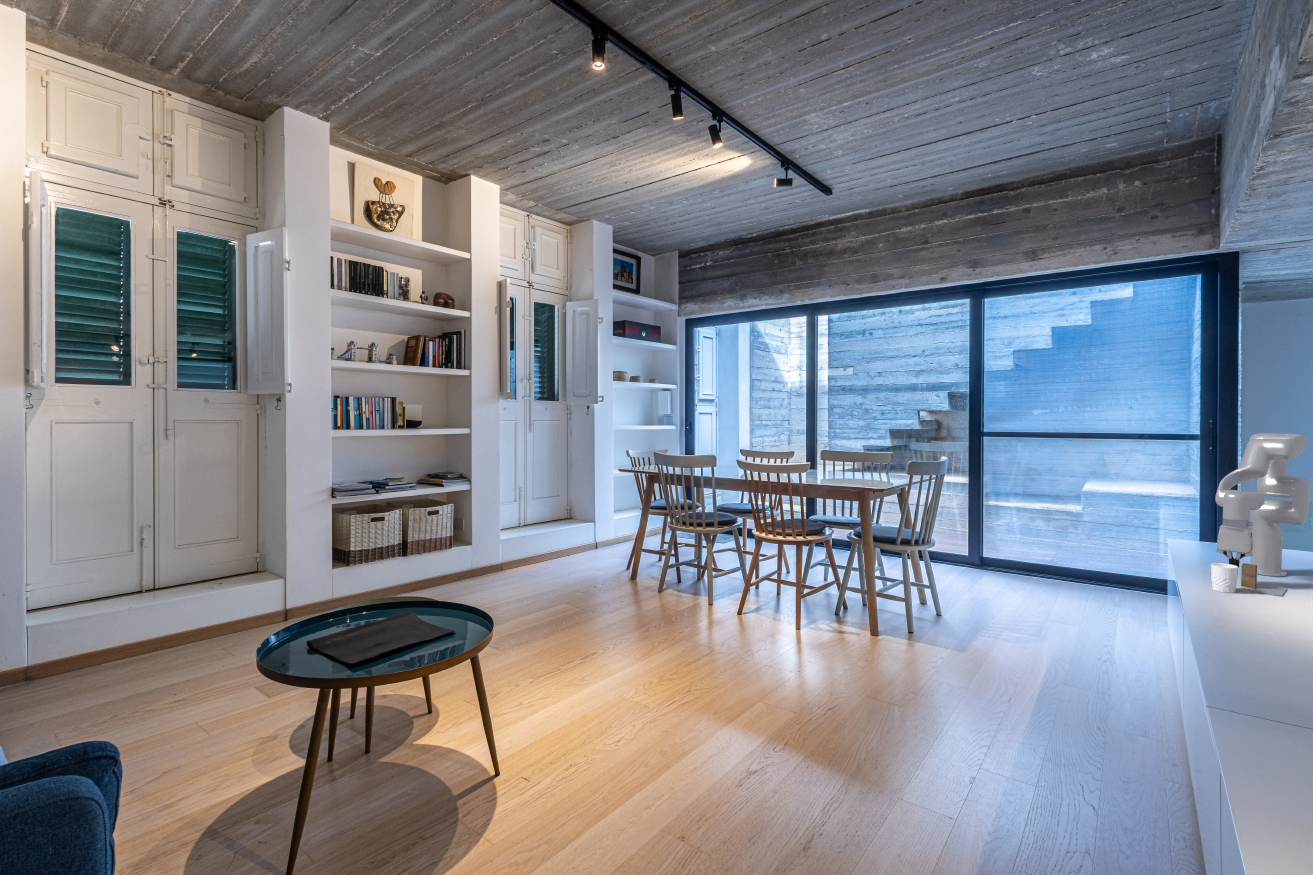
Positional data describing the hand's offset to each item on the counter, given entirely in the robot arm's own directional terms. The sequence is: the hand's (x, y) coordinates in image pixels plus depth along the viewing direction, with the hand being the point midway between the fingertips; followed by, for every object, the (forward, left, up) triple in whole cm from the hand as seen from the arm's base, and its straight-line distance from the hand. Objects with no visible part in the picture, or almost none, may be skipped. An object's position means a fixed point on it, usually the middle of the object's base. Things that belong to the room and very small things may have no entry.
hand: (1233, 568), depth 249 cm
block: (0, +4, -7) cm, 8 cm away
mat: (0, +11, -7) cm, 13 cm away
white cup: (+13, -1, -7) cm, 15 cm away
